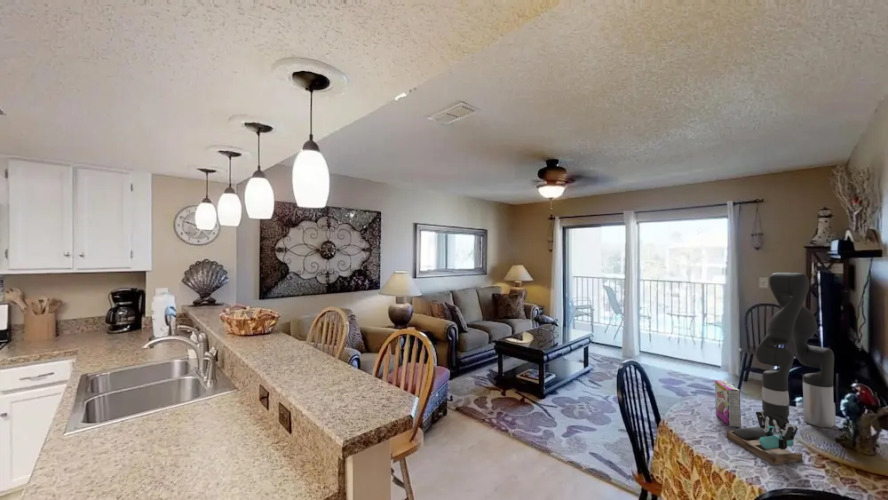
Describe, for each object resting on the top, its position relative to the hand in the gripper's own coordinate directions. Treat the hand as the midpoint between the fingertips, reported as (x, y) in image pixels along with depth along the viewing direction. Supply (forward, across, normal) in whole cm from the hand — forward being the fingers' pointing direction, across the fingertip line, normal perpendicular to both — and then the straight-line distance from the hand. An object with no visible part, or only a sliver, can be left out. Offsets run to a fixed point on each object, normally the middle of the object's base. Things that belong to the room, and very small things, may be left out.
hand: (776, 445), depth 138 cm
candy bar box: (+4, -26, +6) cm, 27 cm away
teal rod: (+1, 0, 0) cm, 1 cm away
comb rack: (+4, -5, 0) cm, 6 cm away
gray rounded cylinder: (+3, -10, 0) cm, 10 cm away
